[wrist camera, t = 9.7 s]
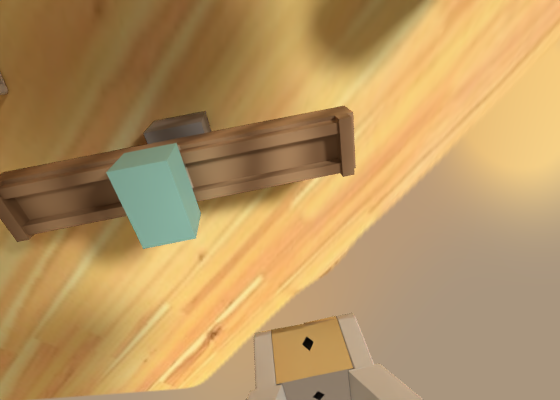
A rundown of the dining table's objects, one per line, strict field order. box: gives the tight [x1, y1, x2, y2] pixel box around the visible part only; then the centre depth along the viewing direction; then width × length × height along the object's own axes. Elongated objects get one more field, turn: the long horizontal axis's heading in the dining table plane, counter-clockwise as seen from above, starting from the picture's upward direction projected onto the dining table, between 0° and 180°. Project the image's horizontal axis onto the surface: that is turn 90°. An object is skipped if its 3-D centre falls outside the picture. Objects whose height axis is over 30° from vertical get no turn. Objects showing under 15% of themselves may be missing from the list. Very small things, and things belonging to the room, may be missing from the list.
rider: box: [106, 143, 201, 249], centre depth 24 cm, size 4×6×5 cm, turn 10°
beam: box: [0, 106, 356, 242], centre depth 28 cm, size 30×7×8 cm, turn 100°
